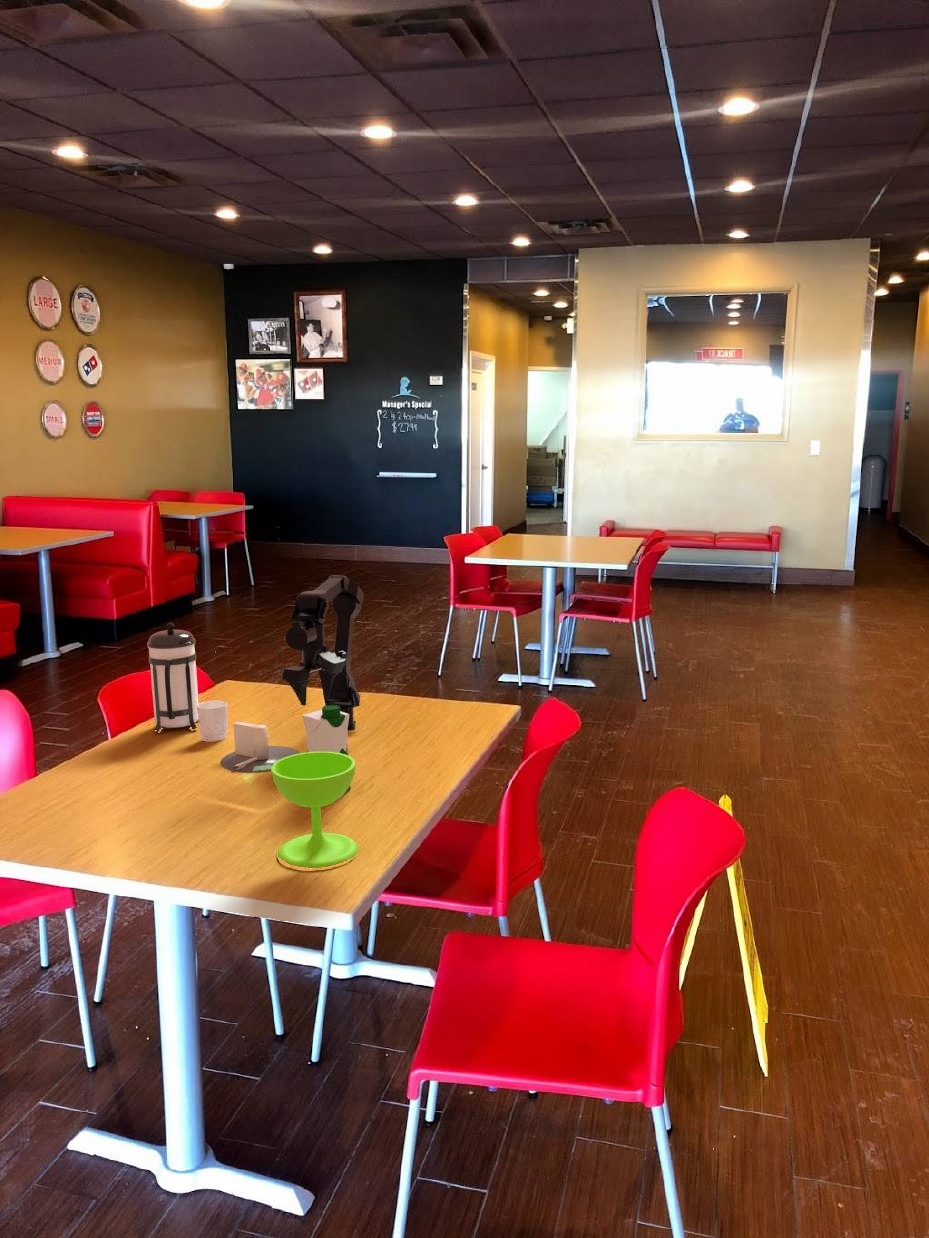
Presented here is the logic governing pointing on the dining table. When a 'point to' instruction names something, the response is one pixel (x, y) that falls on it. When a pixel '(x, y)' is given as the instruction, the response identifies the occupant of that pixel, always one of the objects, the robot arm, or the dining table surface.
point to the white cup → (213, 720)
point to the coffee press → (173, 678)
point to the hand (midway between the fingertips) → (315, 701)
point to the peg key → (250, 742)
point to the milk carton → (327, 730)
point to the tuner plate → (257, 765)
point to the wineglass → (315, 805)
